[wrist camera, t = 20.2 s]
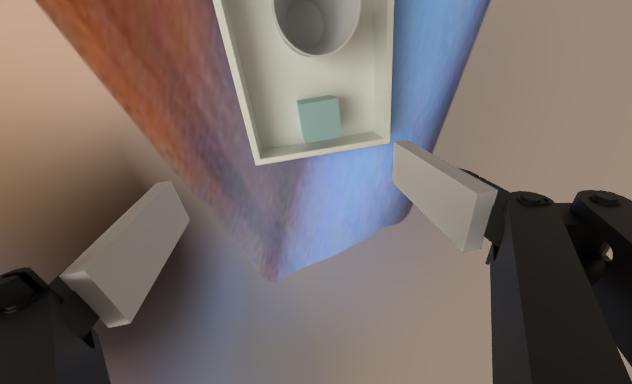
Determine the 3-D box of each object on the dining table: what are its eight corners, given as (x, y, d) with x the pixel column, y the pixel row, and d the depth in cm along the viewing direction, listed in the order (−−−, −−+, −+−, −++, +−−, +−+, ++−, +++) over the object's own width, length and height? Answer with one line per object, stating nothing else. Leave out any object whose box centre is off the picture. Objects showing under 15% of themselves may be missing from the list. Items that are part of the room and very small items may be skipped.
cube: (302, 134, 36) (305, 143, 31) (296, 100, 33) (299, 104, 29) (333, 129, 36) (341, 136, 32) (330, 94, 34) (338, 98, 29)
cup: (325, -26, 27) (348, -74, 19) (343, 49, 31) (369, 40, 22) (262, -2, 28) (255, -38, 19) (287, 71, 31) (291, 69, 23)
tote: (213, -25, 26) (201, -44, 22) (377, -41, 28) (396, -63, 24) (258, 154, 37) (255, 165, 32) (376, 135, 38) (389, 143, 34)
